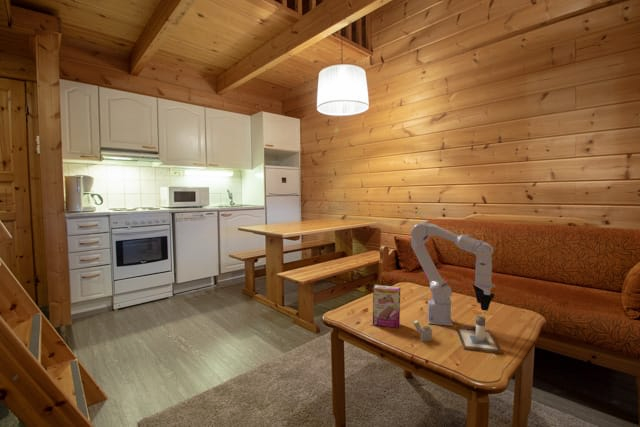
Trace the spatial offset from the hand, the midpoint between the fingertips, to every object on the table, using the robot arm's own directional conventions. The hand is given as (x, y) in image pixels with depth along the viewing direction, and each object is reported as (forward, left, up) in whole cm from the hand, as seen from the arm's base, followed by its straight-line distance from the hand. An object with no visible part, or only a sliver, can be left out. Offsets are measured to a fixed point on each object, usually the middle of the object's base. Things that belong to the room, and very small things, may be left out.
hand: (482, 306), depth 120 cm
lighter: (-23, -13, -11) cm, 29 cm away
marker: (-3, -10, -9) cm, 14 cm away
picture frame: (-3, -8, -10) cm, 14 cm away
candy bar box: (-37, -3, -11) cm, 39 cm away
